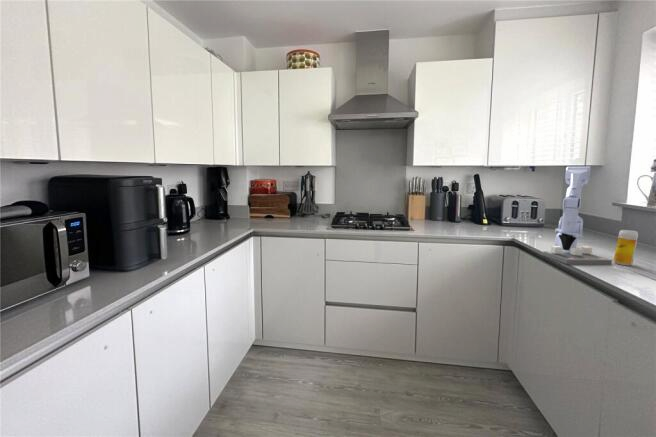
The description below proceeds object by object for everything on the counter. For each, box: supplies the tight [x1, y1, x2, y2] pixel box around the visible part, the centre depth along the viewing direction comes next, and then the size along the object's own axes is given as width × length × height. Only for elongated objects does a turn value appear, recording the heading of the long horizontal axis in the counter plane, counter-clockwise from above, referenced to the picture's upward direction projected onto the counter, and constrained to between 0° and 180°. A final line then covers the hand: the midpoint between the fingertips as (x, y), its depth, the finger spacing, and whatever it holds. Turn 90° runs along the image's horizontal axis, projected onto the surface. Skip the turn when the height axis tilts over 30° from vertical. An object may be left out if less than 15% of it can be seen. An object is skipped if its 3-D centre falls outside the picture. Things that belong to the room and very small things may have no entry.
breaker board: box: [542, 250, 613, 266], centre depth 143 cm, size 15×20×2 cm
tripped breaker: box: [570, 247, 583, 255], centre depth 143 cm, size 2×4×3 cm, turn 90°
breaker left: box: [550, 245, 563, 254], centre depth 146 cm, size 2×4×3 cm, turn 90°
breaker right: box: [579, 245, 593, 254], centre depth 146 cm, size 2×4×3 cm, turn 90°
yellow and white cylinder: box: [613, 229, 639, 266], centre depth 136 cm, size 6×6×15 cm
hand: (566, 249), depth 149 cm, fingers closed
